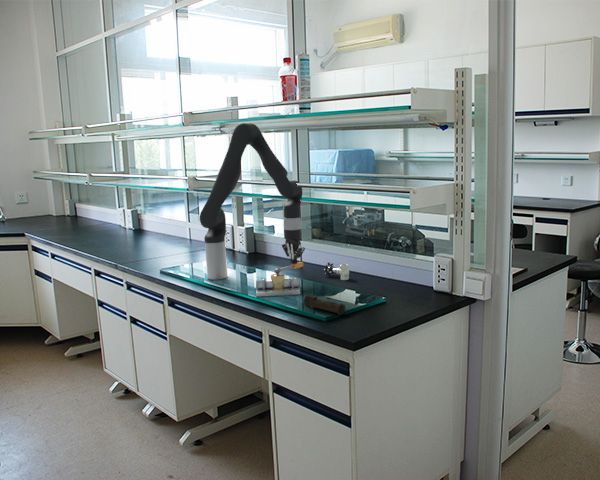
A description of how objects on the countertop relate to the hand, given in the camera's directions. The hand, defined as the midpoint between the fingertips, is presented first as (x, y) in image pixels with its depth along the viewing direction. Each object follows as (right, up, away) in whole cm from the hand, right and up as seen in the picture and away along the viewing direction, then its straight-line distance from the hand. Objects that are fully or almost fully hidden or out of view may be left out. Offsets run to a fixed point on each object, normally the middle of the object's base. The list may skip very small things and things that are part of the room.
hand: (293, 266), depth 239 cm
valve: (+20, -6, +8) cm, 22 cm away
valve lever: (-2, -1, -6) cm, 7 cm away
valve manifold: (-6, -10, -9) cm, 15 cm away
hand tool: (+11, -15, -36) cm, 40 cm away
